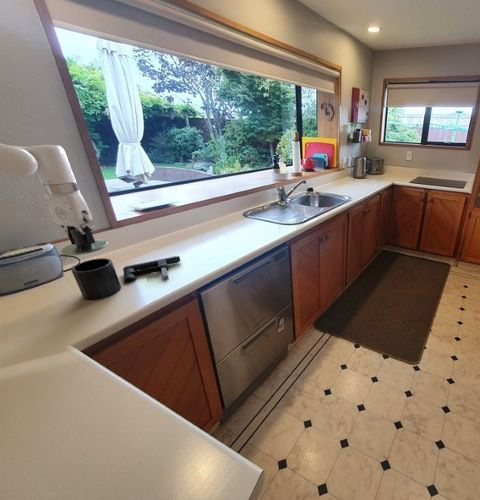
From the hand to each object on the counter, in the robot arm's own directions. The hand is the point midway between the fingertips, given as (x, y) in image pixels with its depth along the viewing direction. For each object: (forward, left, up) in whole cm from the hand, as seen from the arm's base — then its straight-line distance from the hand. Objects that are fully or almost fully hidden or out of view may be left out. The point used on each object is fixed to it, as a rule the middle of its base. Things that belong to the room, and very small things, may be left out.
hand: (83, 243), depth 92 cm
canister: (0, 0, -20) cm, 20 cm away
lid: (0, 0, -2) cm, 2 cm away
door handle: (+15, +9, -20) cm, 26 cm away
